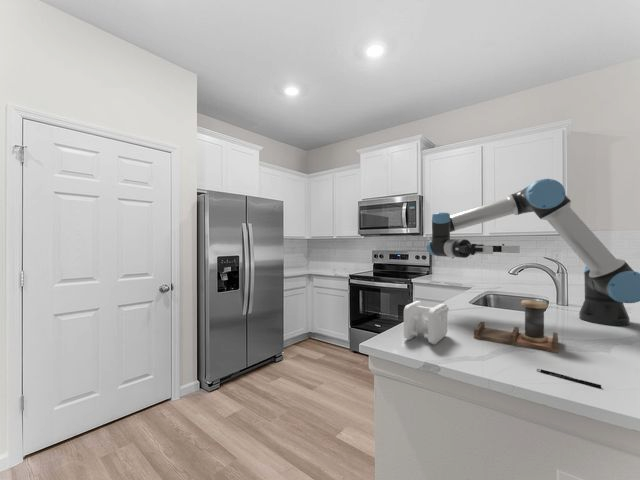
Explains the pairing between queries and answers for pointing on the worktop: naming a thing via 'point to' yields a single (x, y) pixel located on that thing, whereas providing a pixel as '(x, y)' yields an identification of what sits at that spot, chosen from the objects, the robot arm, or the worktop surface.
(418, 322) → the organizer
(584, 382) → the black pen
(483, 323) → the slot cradle
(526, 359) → the worktop surface
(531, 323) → the cord spool
